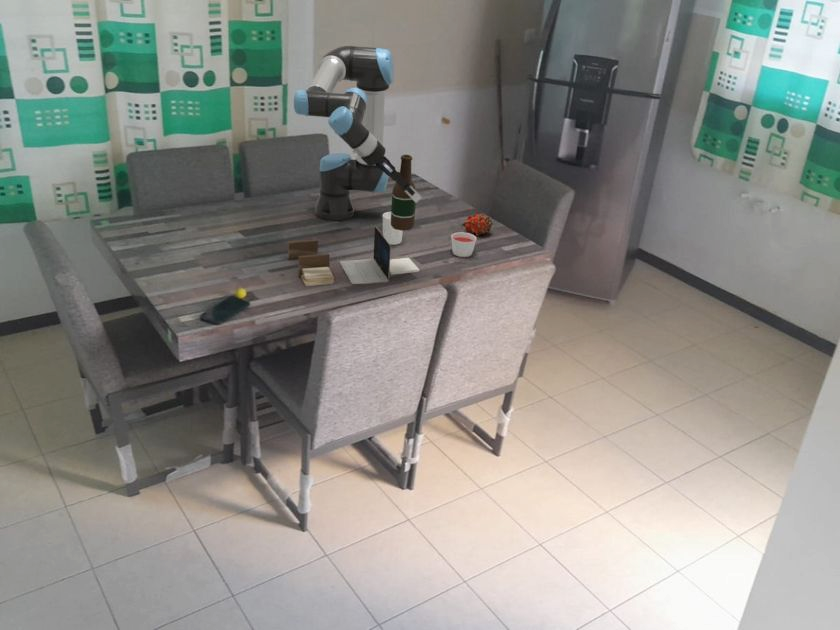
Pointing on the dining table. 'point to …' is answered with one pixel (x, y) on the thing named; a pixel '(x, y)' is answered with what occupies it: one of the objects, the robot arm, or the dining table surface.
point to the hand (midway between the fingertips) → (414, 195)
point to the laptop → (371, 264)
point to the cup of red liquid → (463, 244)
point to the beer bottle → (403, 199)
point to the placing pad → (402, 266)
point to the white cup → (391, 230)
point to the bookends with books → (311, 262)
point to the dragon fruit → (477, 224)
